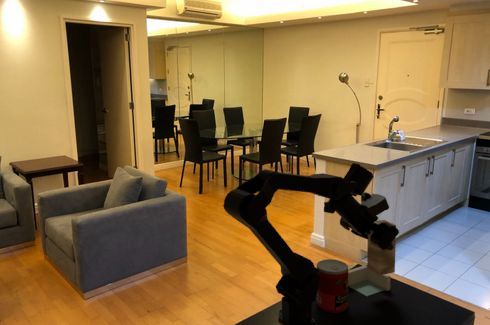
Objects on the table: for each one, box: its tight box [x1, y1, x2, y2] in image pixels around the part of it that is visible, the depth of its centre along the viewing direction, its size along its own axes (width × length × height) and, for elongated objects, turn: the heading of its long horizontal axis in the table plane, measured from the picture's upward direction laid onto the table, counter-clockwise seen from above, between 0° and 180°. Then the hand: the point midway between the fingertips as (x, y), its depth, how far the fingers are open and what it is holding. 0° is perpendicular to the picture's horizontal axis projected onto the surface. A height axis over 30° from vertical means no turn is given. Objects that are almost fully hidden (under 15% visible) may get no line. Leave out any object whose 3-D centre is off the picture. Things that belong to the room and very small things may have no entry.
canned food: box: [316, 258, 349, 314], centre depth 102 cm, size 8×8×11 cm
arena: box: [348, 264, 391, 298], centre depth 111 cm, size 13×9×4 cm
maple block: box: [366, 219, 397, 275], centre depth 107 cm, size 5×5×13 cm
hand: (385, 245), depth 107 cm, fingers closed on maple block, 5 cm apart
